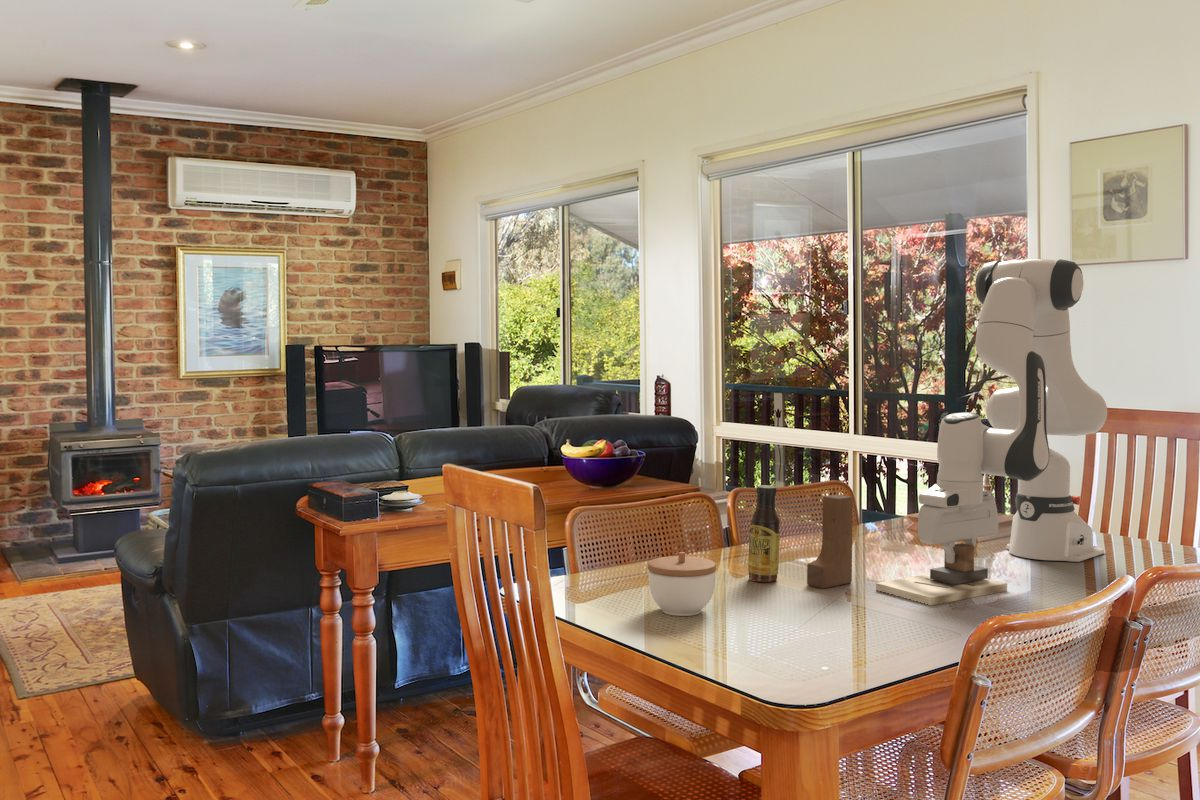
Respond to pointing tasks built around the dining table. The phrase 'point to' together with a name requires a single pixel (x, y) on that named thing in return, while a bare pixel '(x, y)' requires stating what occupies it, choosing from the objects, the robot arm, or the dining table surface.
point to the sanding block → (960, 567)
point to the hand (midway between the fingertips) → (958, 561)
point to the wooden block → (834, 545)
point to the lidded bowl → (681, 583)
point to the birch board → (939, 589)
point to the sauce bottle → (764, 537)
